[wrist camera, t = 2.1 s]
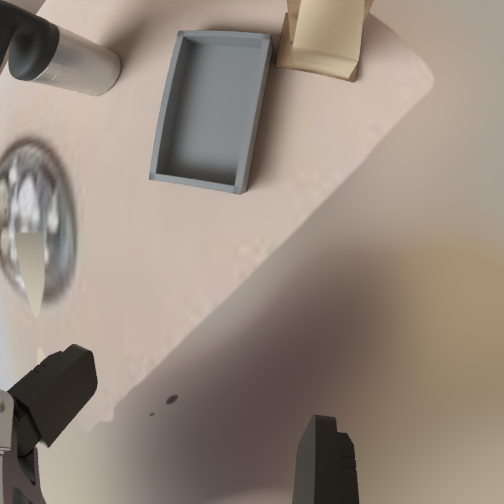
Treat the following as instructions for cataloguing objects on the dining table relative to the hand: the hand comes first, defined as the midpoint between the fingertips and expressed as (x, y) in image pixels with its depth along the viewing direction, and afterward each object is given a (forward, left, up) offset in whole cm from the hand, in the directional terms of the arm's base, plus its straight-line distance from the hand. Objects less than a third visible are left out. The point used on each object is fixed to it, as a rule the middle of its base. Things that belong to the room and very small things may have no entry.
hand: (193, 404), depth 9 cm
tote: (-12, +15, -38) cm, 43 cm away
